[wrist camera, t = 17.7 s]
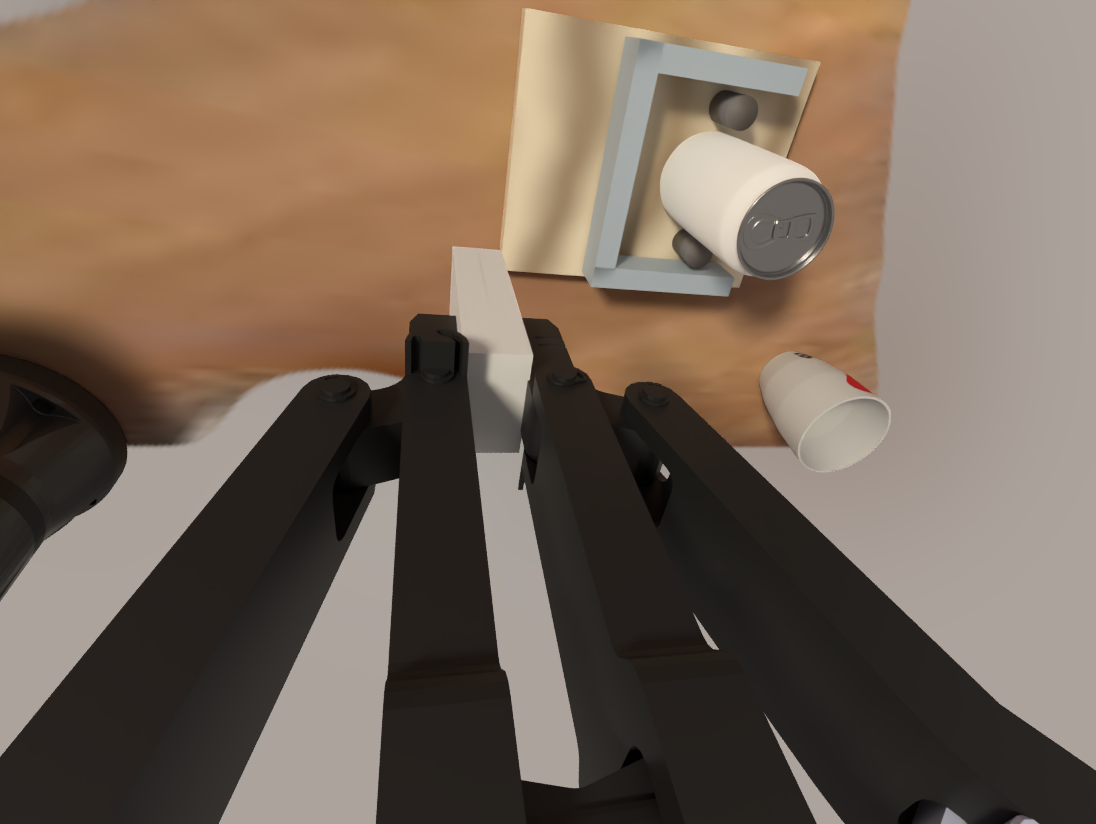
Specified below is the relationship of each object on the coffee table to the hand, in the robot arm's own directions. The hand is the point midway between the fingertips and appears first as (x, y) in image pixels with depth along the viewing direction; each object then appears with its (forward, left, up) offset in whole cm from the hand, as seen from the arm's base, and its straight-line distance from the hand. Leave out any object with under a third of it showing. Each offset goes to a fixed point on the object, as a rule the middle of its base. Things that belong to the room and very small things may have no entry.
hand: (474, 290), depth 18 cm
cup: (+33, -17, -25) cm, 45 cm away
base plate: (+14, 0, -24) cm, 28 cm away
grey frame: (+16, 0, -23) cm, 28 cm away
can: (+18, 0, -23) cm, 29 cm away
